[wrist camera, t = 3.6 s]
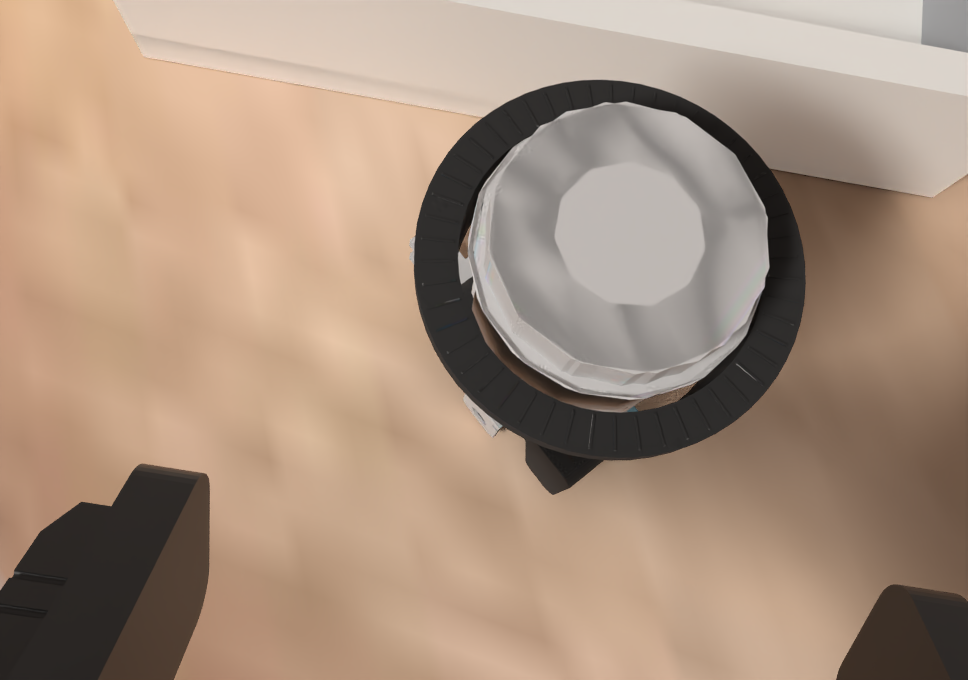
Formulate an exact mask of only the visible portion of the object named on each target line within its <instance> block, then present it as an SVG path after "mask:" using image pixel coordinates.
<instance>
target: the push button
mask: <svg viewBox="0 0 968 680" xmlns="http://www.w3.org/2000/svg"><path fill="white" fill-rule="evenodd" d="M470 225H471V229H470V233H469V237H468V256H469V257H467V258H466V259H465V258H464V257H463V256H462V254H461V253H460V252H459V249H460V246H461V243H462V241H463V239H464V237H465V235H466V232H467V230H468V228H469V227H470ZM410 247H411V248H412V250H413V252H411V253H410V260H411V261H412V263H413V264H414V277H415V289H416V295H417V300H418V305H419V310H420V314H421V317H422V320H423V323H424V326H425V329H426V332H427V334H428V336H429V339H430V341H431V343H432V345H433V348H434V350H435V352H436V353H437V355H438V357H439V358H440V360H441V362H442V364H443V365H444V367H445V369H446V370H447V371H448V373H449V374H450V375H451V377H452V378H453V380H454V381H455V382H456V384H457V385H458V386H459V387H460V388H461V389H462V391H463V392H464V393H465V395H464V398H463V401H464V402H465V404H466V406H467V407H468V409H469V410H470V411H471V412H472V414H473V415H474V416H475V417H476V419H477V420H478V421H479V423H480V424H481V425H482V426H483V428H484V429H485V430H486V432H487V433H488V434H489V435H490V436H491V437H494V436H495V435H496V434H497V432H498V431H499V429H500V428H501V427H502V426H504V427H505V428H507V429H508V430H510V431H512V432H514V433H515V434H517V435H519V436H521V437H522V438H524V439H525V441H526V463H527V465H528V467H529V468H530V469H531V471H532V472H533V473H534V475H535V476H536V477H537V478H538V480H539V481H540V482H541V484H542V485H543V486H544V487H545V488H546V490H548V491H549V492H550V493H551V494H553V495H554V494H556V493H559V492H561V491H563V490H566V489H568V488H570V487H571V486H573V485H574V484H575V483H576V482H578V481H579V480H580V479H581V478H583V477H584V476H585V475H586V474H587V473H589V472H590V471H591V470H592V469H594V468H595V467H596V466H597V465H598V464H600V463H601V462H602V461H603V460H633V459H641V458H649V457H654V456H658V455H662V454H666V453H671V452H673V451H676V450H679V449H682V448H684V447H687V446H690V445H693V444H695V443H698V442H700V441H702V440H704V439H706V438H708V437H710V436H712V435H714V434H716V433H718V432H719V431H721V430H722V429H724V428H725V427H727V426H728V425H730V424H731V423H733V422H734V421H736V420H737V419H738V418H739V417H740V416H742V415H743V414H744V413H745V412H746V411H748V410H749V409H750V408H751V407H752V406H753V405H754V404H755V403H756V402H757V401H758V400H759V399H760V398H761V397H762V396H763V394H764V393H765V392H766V391H767V389H768V388H769V387H770V385H771V384H772V383H773V381H774V380H775V379H776V377H777V376H778V374H779V372H780V370H781V369H782V367H783V365H784V364H785V362H786V360H787V358H788V356H789V353H790V351H791V349H792V347H793V344H794V342H795V339H796V336H797V332H798V329H799V326H800V322H801V317H802V312H803V307H804V298H805V285H806V282H805V261H804V254H803V247H802V242H801V238H800V234H799V230H798V226H797V223H796V220H795V217H794V215H793V212H792V209H791V206H790V204H789V202H788V200H787V198H786V196H785V194H784V192H783V190H782V188H781V186H780V185H779V183H778V181H777V180H776V178H775V176H774V175H773V173H772V172H771V170H770V169H769V168H768V166H767V165H766V164H765V162H764V161H763V160H762V158H761V157H760V156H759V155H758V153H757V152H756V151H755V150H754V149H753V148H752V147H751V146H750V145H749V144H748V143H747V141H746V140H744V139H743V138H742V137H741V136H740V135H739V134H738V133H737V132H736V131H734V130H733V129H732V128H731V127H730V126H728V125H727V124H726V123H724V122H723V121H722V120H720V119H719V118H718V117H716V116H715V115H713V114H712V113H710V112H708V111H707V110H705V109H703V108H702V107H700V106H698V105H697V104H694V103H692V102H690V101H688V100H686V99H684V98H682V97H680V96H677V95H675V94H672V93H669V92H667V91H664V90H661V89H658V88H654V87H650V86H646V85H642V84H637V83H631V82H625V81H615V80H580V81H572V82H564V83H559V84H555V85H551V86H547V87H543V88H540V89H537V90H534V91H531V92H528V93H525V94H523V95H521V96H519V97H517V98H515V99H512V100H510V101H508V102H506V103H505V104H503V105H501V106H500V107H498V108H496V109H495V110H493V111H491V112H490V113H489V114H487V115H486V116H485V117H483V118H482V119H481V120H479V121H478V122H477V123H476V124H474V125H473V126H472V127H471V128H470V129H469V130H468V131H467V132H466V133H465V134H464V135H463V136H462V137H461V138H460V139H459V140H458V142H457V143H456V144H455V145H454V146H453V147H452V149H451V150H450V151H449V152H448V154H447V155H446V157H445V158H444V160H443V161H442V163H441V164H440V166H439V167H438V169H437V171H436V173H435V175H434V177H433V179H432V181H431V183H430V185H429V187H428V190H427V192H426V195H425V198H424V200H423V203H422V206H421V210H420V214H419V218H418V222H417V228H416V236H415V237H413V238H412V239H410ZM698 380H699V381H698ZM697 381H698V382H697ZM695 382H697V383H696V384H695V385H694V386H693V388H692V389H691V390H690V391H689V392H688V393H687V394H686V395H684V396H683V397H682V398H681V399H680V400H678V401H677V402H674V403H671V404H668V405H665V406H662V407H659V408H654V409H649V410H644V411H638V410H637V409H636V408H635V407H634V406H635V405H636V404H638V403H639V402H641V401H642V400H644V399H646V398H649V397H652V396H656V395H659V394H662V393H666V392H669V391H672V390H675V389H679V388H682V387H685V386H688V385H691V384H693V383H695Z"/></svg>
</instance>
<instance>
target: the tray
mask: <svg viewBox="0 0 968 680" xmlns="http://www.w3.org/2000/svg"><path fill="white" fill-rule="evenodd" d="M113 1H114V3H115V5H116V6H117V8H118V10H119V12H120V14H121V16H122V18H123V19H124V21H125V23H126V25H127V27H128V29H129V31H130V32H131V34H132V36H133V38H134V40H135V42H136V44H137V45H138V47H139V49H140V51H141V53H142V55H143V56H144V57H148V58H153V59H159V60H164V61H170V62H176V63H181V64H187V65H192V66H198V67H204V68H209V69H215V70H220V71H226V72H232V73H237V74H243V75H248V76H254V77H260V78H265V79H271V80H276V81H282V82H288V83H293V84H299V85H304V86H310V87H316V88H321V89H327V90H332V91H338V92H344V93H349V94H355V95H360V96H366V97H372V98H377V99H383V100H388V101H394V102H400V103H405V104H411V105H416V106H422V107H428V108H433V109H439V110H444V111H450V112H456V113H461V114H467V115H472V116H478V117H485V116H486V115H487V114H489V113H490V112H491V111H493V110H495V109H496V108H498V107H500V106H501V105H503V104H505V103H506V102H508V101H510V100H512V99H515V98H517V97H519V96H521V95H523V94H525V93H528V92H531V91H534V90H537V89H540V88H543V87H547V86H551V85H555V84H559V83H564V82H572V81H580V80H615V81H625V82H631V83H637V84H642V85H646V86H650V87H654V88H658V89H661V90H664V91H667V92H669V93H672V94H675V95H677V96H680V97H682V98H684V99H686V100H688V101H690V102H692V103H694V104H697V105H698V106H700V107H702V108H703V109H705V110H707V111H708V112H710V113H712V114H713V115H715V116H716V117H718V118H719V119H720V120H722V121H723V122H724V123H726V124H727V125H728V126H730V127H731V128H732V129H733V130H734V131H736V132H737V133H738V134H739V135H740V136H741V137H742V138H743V139H744V140H746V141H747V143H748V144H749V145H750V146H751V147H752V148H753V149H754V150H755V151H756V152H757V153H758V155H759V156H760V157H761V158H762V160H763V161H764V162H765V164H766V165H767V166H768V168H769V169H775V170H781V171H786V172H792V173H797V174H803V175H809V176H814V177H820V178H825V179H831V180H837V181H842V182H848V183H853V184H859V185H865V186H870V187H876V188H881V189H887V190H893V191H898V192H904V193H909V194H915V195H921V196H926V197H932V198H933V197H934V196H936V195H937V194H939V193H940V192H942V191H943V190H945V189H946V188H948V187H949V186H951V185H952V184H953V183H955V182H956V181H958V180H959V179H961V178H962V177H964V176H965V175H967V174H968V0H113Z"/></svg>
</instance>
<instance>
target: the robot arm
mask: <svg viewBox="0 0 968 680" xmlns="http://www.w3.org/2000/svg"><path fill="white" fill-rule="evenodd" d="M209 514H210V485H209V478H208V476H207V474H205V473H198V472H192V471H185V470H179V469H173V468H166V467H160V466H154V465H147V464H140V465H138V466H137V467H136V468H135V469H134V470H133V472H132V473H131V475H130V476H129V478H128V480H127V481H126V483H125V485H124V486H123V488H122V490H121V491H120V493H119V495H118V496H117V498H116V500H115V501H114V503H113V505H112V506H105V505H99V504H92V503H86V502H81V503H79V504H78V505H76V506H75V507H74V508H72V509H71V510H70V511H68V512H67V513H65V514H64V515H63V516H61V517H60V518H59V519H57V520H56V521H54V522H53V523H52V524H50V525H49V526H48V527H46V528H45V529H43V530H42V531H41V532H40V533H39V534H38V536H37V537H36V539H35V540H34V542H33V543H32V545H31V546H30V548H29V549H28V551H27V552H26V554H25V555H24V557H23V558H22V559H21V561H20V562H19V564H18V565H17V567H16V568H15V570H14V575H13V577H12V578H9V579H8V580H7V582H6V583H5V585H4V586H3V587H2V589H1V590H0V680H174V678H175V675H176V673H177V670H178V668H179V665H180V663H181V661H182V658H183V656H184V653H185V651H186V648H187V646H188V644H189V641H190V639H191V636H192V634H193V631H194V629H195V627H196V624H197V621H198V619H199V616H200V613H201V609H202V606H203V602H204V598H205V594H206V589H207V583H208V576H209ZM836 680H968V602H967V601H966V599H965V598H963V597H962V596H960V595H958V594H954V593H947V592H941V591H934V590H928V589H922V588H915V587H909V586H903V585H890V586H889V587H887V588H886V589H885V590H884V591H883V592H882V593H881V595H880V596H879V598H878V600H877V602H876V604H875V605H874V607H873V609H872V611H871V612H870V614H869V616H868V618H867V620H866V621H865V623H864V625H863V627H862V628H861V630H860V632H859V634H858V636H857V637H856V639H855V641H854V643H853V644H852V646H851V648H850V650H849V652H848V653H847V655H846V657H845V659H844V661H843V662H842V664H841V666H840V668H839V671H838V674H837V679H836Z"/></svg>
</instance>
